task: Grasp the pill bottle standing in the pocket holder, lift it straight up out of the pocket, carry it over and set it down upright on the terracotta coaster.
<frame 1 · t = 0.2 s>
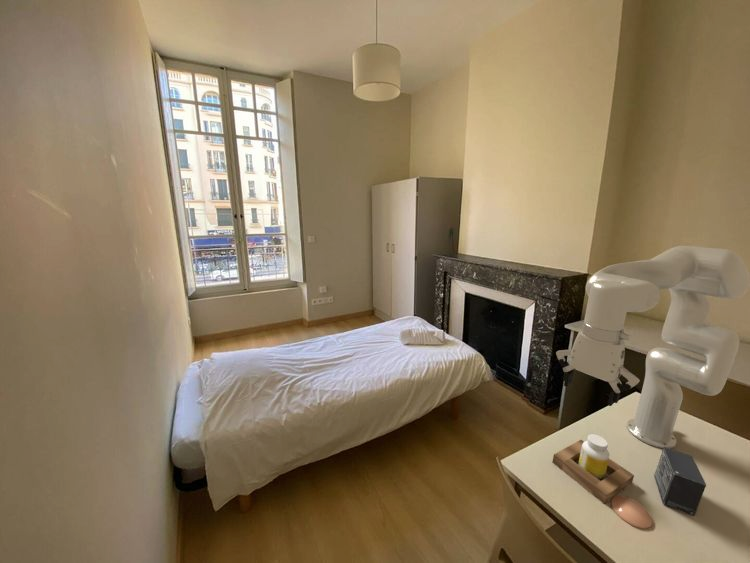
hand: (588, 393, 76), 30 cm above the table, fingers open, 9 cm apart
small box: (673, 495, 81), on the table
coaster: (630, 512, 77), on the table
pill bottle: (590, 473, 88), resting in pocket holder
pocket holder: (590, 472, 88), on the table
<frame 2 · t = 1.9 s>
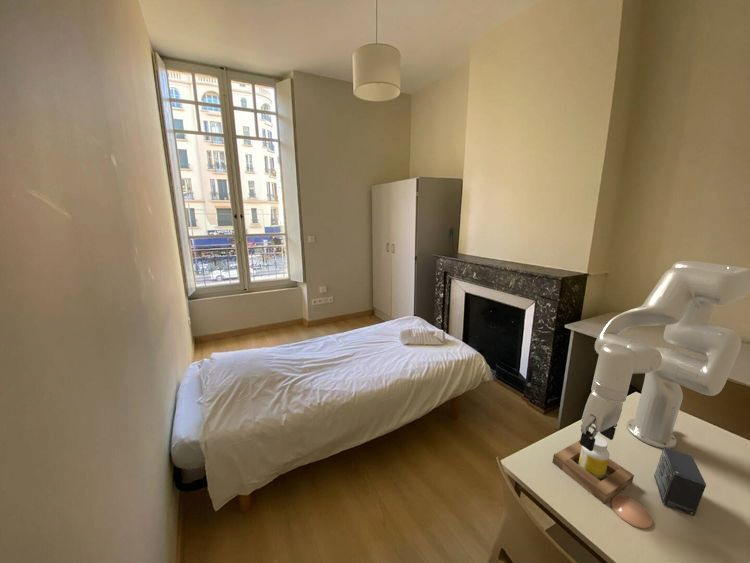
hand: (596, 441, 85), 11 cm above the table, fingers open, 9 cm apart
nothing on the table moved.
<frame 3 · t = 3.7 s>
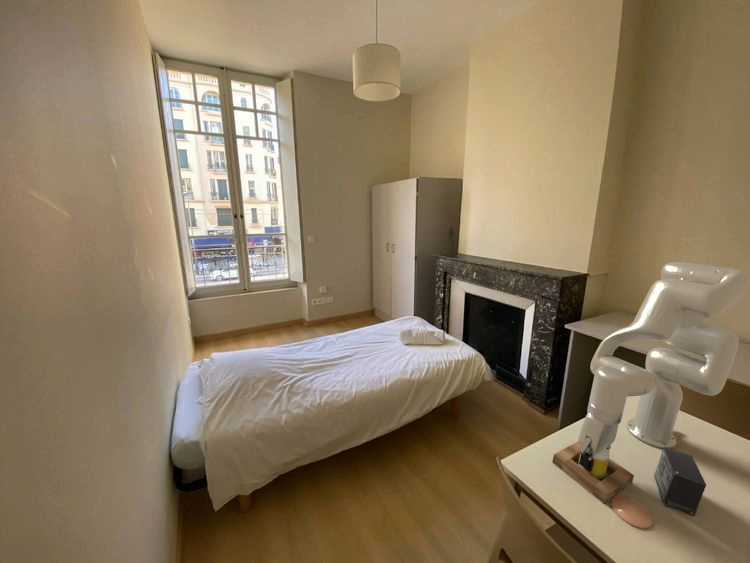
hand: (592, 462, 87), 4 cm above the table, fingers closed on pill bottle, 6 cm apart
pill bottle: (590, 473, 88), resting in pocket holder, touching gripper
everything else where it was.
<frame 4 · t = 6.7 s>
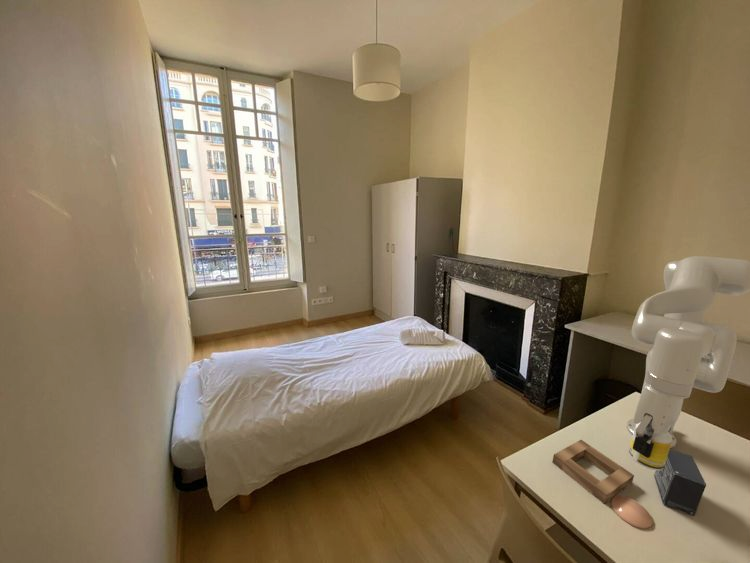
hand: (649, 447, 72), 21 cm above the table, fingers closed on pill bottle, 6 cm apart
pill bottle: (644, 461, 73), point 16 cm above the table, touching gripper
everything else where it was.
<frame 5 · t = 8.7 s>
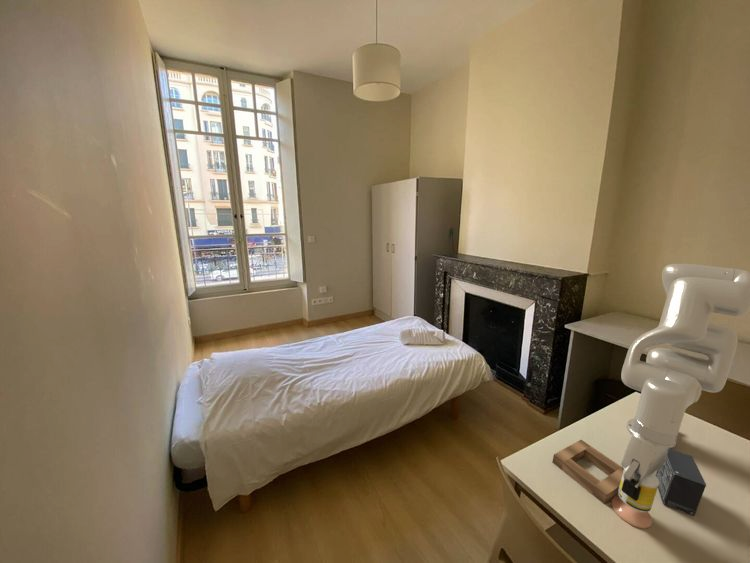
hand: (637, 488, 75), 8 cm above the table, fingers closed on pill bottle, 6 cm apart
pill bottle: (633, 501, 76), point 4 cm above the table, touching gripper
everything else where it was.
when the fingers open (6 cm above the table, at t = 10.2 s): pill bottle drops 1 cm, resting on coaster.
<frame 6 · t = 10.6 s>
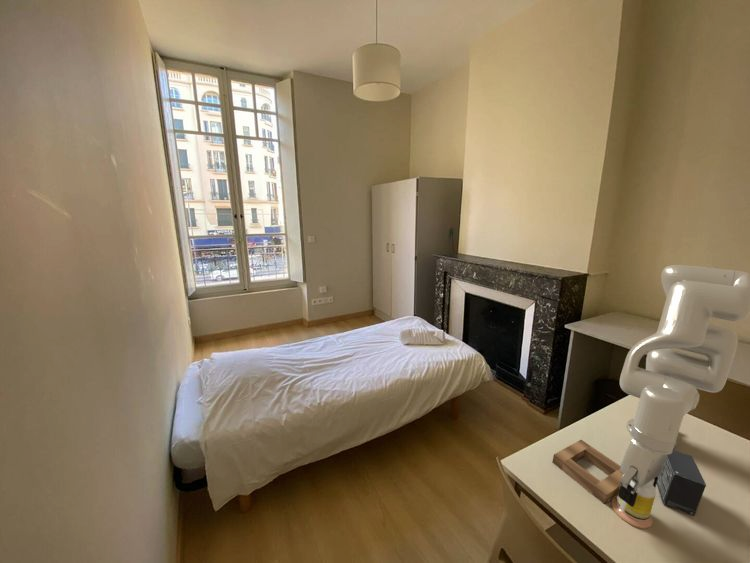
hand: (636, 493, 75), 6 cm above the table, fingers open, 9 cm apart
pill bottle: (631, 510, 77), resting on coaster
everything else where it was.
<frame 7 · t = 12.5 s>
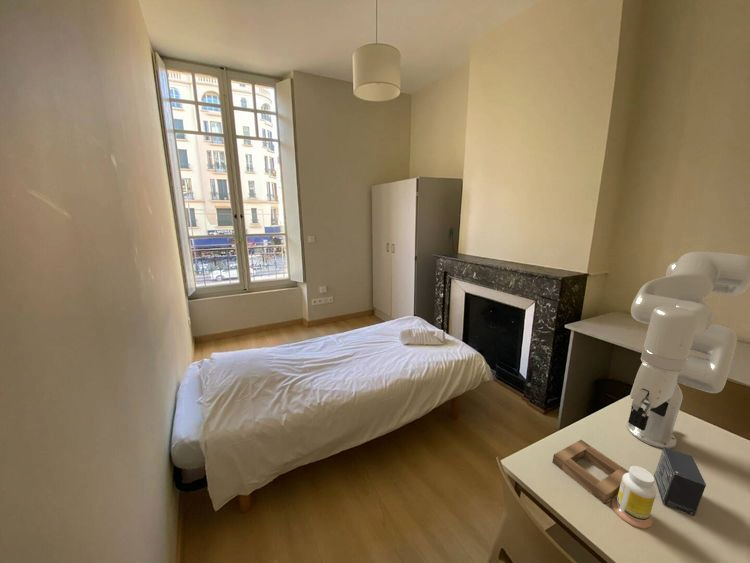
hand: (646, 419, 74), 25 cm above the table, fingers open, 9 cm apart
nothing on the table moved.
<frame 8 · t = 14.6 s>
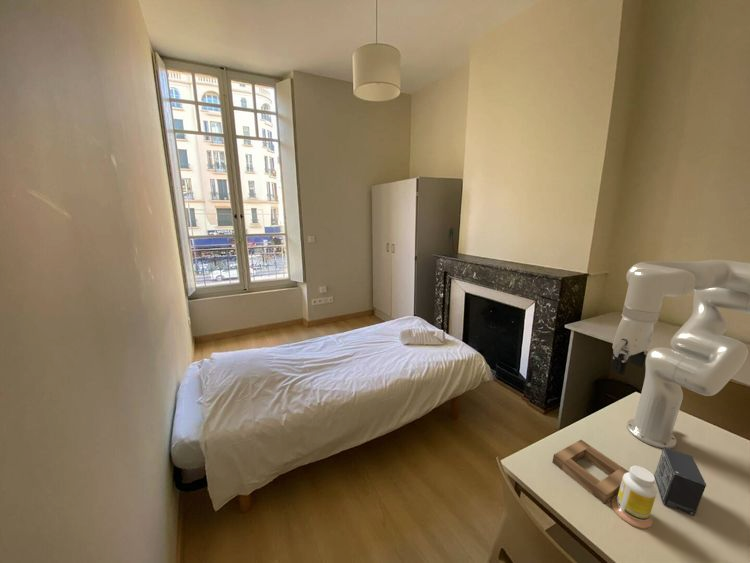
hand: (626, 368, 87), 30 cm above the table, fingers open, 9 cm apart
nothing on the table moved.
at the end: pill bottle inside the target area on the coaster (0.4 cm from its centre), point 0.4 cm above the coaster's base; pill bottle tilted 1°; the gripper is holding nothing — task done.
